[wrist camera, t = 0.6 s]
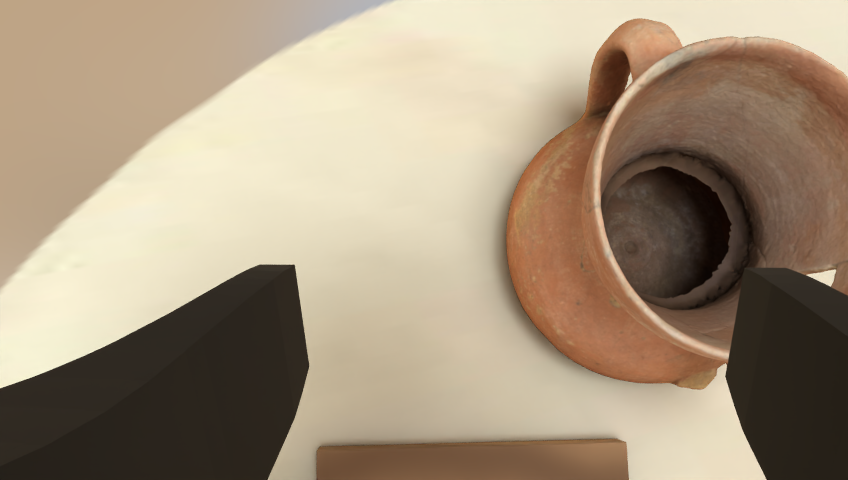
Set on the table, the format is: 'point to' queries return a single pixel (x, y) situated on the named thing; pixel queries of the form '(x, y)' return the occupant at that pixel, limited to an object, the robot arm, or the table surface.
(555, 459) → the brown wooden stick
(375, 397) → the table surface
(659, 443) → the table surface
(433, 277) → the table surface
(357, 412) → the table surface
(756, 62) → the ceramic jug
